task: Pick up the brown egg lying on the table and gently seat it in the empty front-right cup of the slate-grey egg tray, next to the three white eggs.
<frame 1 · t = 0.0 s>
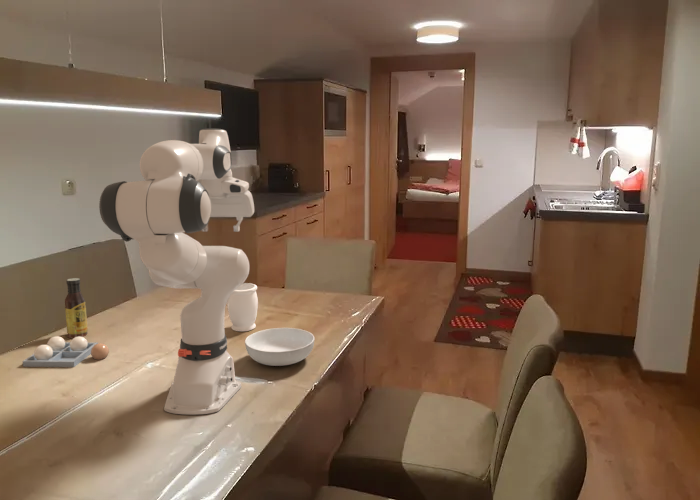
hand: (221, 231, 169), 39 cm above the table, tool pointing down, fingers open, 8 cm apart
sauce bottle: (78, 337, 192), on the table
white egg 1: (57, 351, 177), point 1 cm above the table, touching egg tray
jar: (243, 328, 200), on the table
white egg 3: (44, 360, 170), point 1 cm above the table, touching egg tray
egg tray: (62, 358, 174), on the table
white egg 2: (79, 352, 177), point 1 cm above the table, touching egg tray
brown egg: (100, 359, 173), on the table
serving bowl: (280, 360, 172), on the table
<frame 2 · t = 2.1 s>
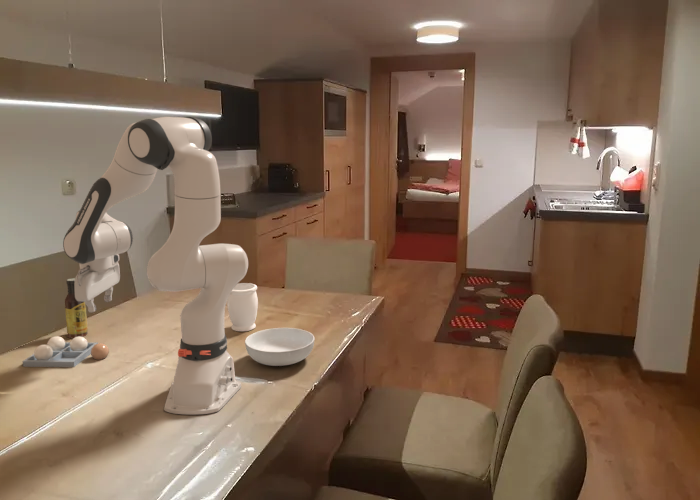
hand: (100, 306, 171), 16 cm above the table, tool pointing down, fingers open, 8 cm apart
nothing on the table moved.
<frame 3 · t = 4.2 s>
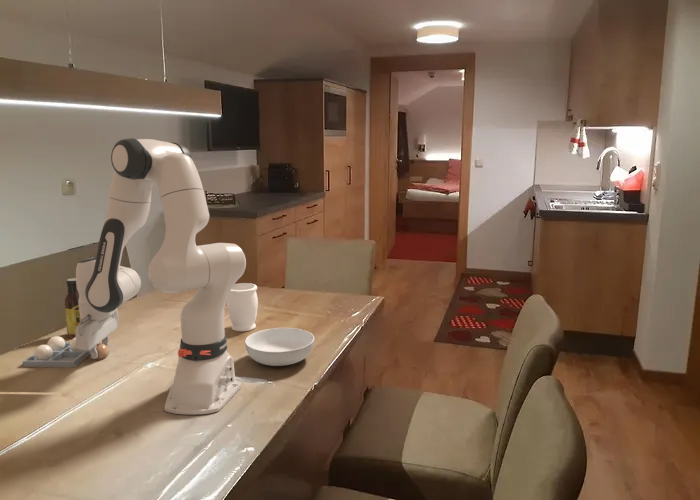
hand: (100, 353, 172), 2 cm above the table, tool pointing down, fingers closed on brown egg, 5 cm apart
brown egg: (100, 359, 173), on the table, touching gripper
everything else where it was.
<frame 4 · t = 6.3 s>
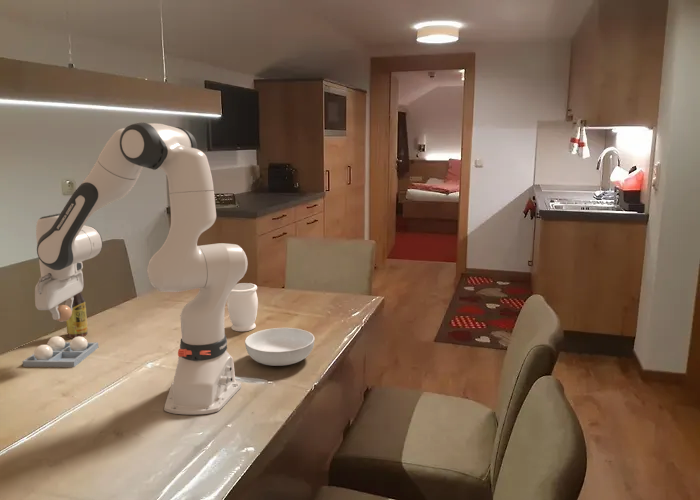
hand: (62, 315, 167), 15 cm above the table, tool pointing down, fingers closed on brown egg, 5 cm apart
brown egg: (63, 321, 167), point 13 cm above the table, touching gripper
everything else where it was.
when the fingers open (4 cm above the table, at t = 8.7 s): brown egg drops 1 cm, resting on egg tray.
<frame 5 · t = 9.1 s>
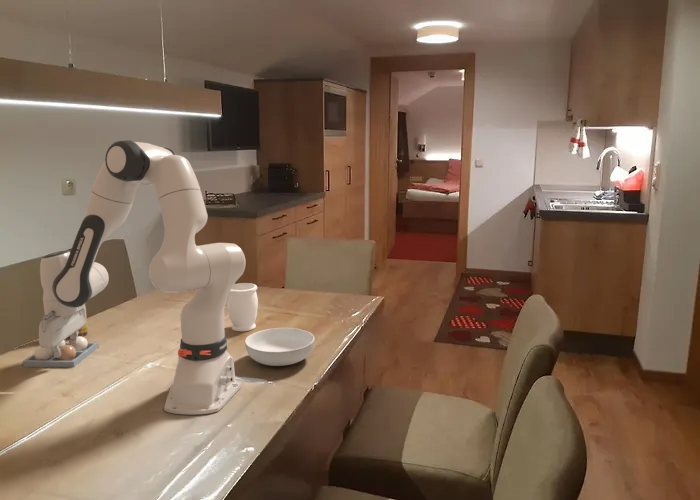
hand: (66, 350, 169), 4 cm above the table, tool pointing down, fingers open, 7 cm apart
white egg 2: (79, 352, 177), point 1 cm above the table, touching egg tray, gripper
brown egg: (67, 361, 170), point 1 cm above the table, touching egg tray
everything else where it was.
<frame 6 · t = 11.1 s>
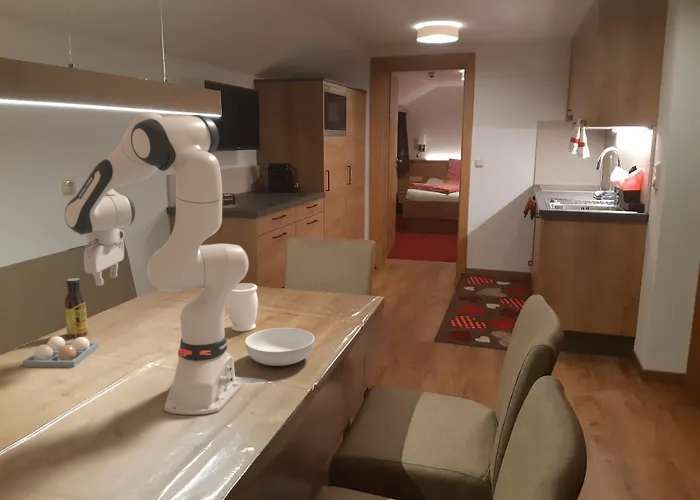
hand: (107, 281, 174), 23 cm above the table, tool pointing down, fingers open, 8 cm apart
white egg 2: (79, 351, 177), point 1 cm above the table, tilted 23°, touching egg tray
everything else where it was.
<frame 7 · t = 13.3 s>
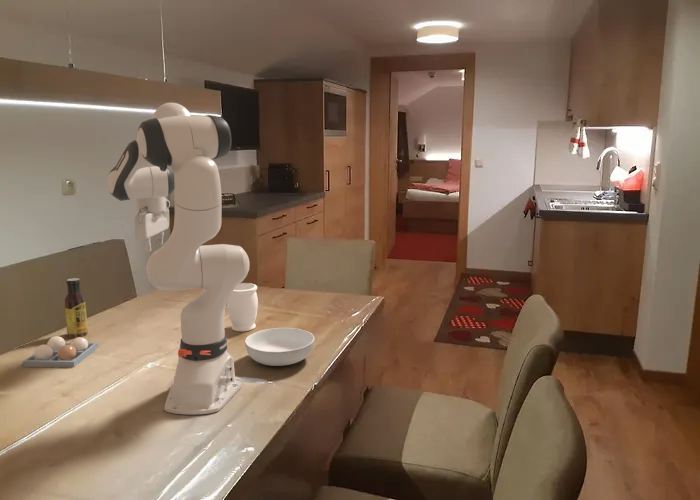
hand: (154, 247, 183), 31 cm above the table, tool pointing down, fingers open, 8 cm apart
white egg 2: (79, 351, 177), point 1 cm above the table, tilted 16°, touching egg tray
everything else where it was.
at the end: brown egg 0.1 cm from the target spot on the egg tray, point 0.6 cm above the egg tray's base; the gripper is holding nothing; white egg 2 moved 0.1 cm from its start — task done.
